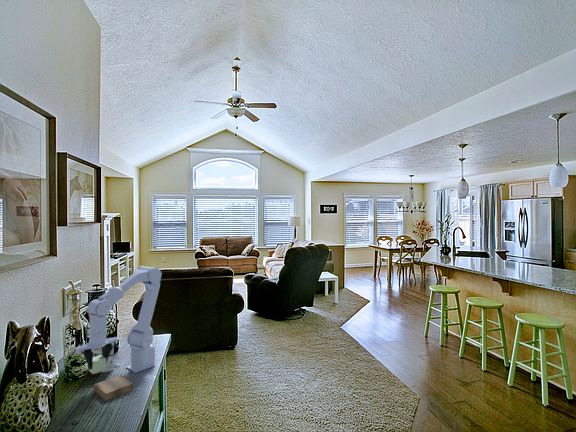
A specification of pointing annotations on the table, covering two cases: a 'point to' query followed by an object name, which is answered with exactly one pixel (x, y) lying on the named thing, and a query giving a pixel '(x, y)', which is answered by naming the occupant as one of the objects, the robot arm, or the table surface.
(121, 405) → the table surface
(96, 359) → the sage cube
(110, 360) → the ink box
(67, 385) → the table surface
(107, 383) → the walnut block
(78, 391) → the table surface
